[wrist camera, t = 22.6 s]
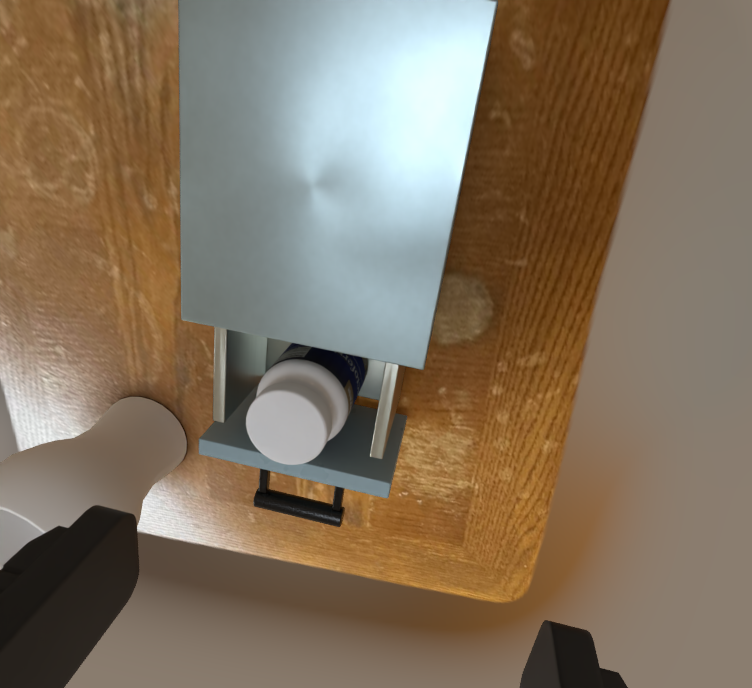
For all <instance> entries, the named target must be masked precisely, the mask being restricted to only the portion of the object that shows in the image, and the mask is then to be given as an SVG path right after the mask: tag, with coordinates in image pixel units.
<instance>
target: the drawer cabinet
mask: <svg viewBox="0 0 752 688" xmlns="http://www.w3.org/2000/svg"><path fill="white" fill-rule="evenodd" d="M178 5H179V113H180V221H181V319H182V320H185V321H190V322H195V323H199V324H204V325H209V326H214V327H219V328H223V329H228V330H233V331H238V332H243V333H247V334H252V335H257V336H262V337H267V338H272V339H276V340H281V341H286V342H291V343H296V344H300V345H305V346H310V347H315V348H320V349H324V350H329V351H334V352H339V353H344V354H349V355H353V356H358V357H363V358H368V359H373V360H377V361H382V362H387V363H392V364H397V365H401V366H406V367H411V368H416V369H421V370H424V367H425V363H426V358H427V354H428V349H429V344H430V340H431V335H432V330H433V326H434V321H435V316H436V312H437V307H438V302H439V297H440V292H441V287H442V282H443V278H444V273H445V268H446V263H447V258H448V253H449V248H450V243H451V238H452V233H453V228H454V223H455V218H456V213H457V208H458V203H459V199H460V194H461V189H462V184H463V179H464V174H465V169H466V164H467V159H468V154H469V149H470V144H471V139H472V134H473V129H474V125H475V120H476V115H477V110H478V105H479V100H480V95H481V90H482V85H483V80H484V75H485V70H486V65H487V60H488V55H489V51H490V46H491V40H492V35H493V29H494V23H495V18H496V12H497V6H498V1H497V0H178Z"/></svg>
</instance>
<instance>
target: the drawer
mask: <svg viewBox="0 0 752 688" xmlns="http://www.w3.org/2000/svg"><path fill="white" fill-rule="evenodd" d="M291 344H292V343H291V342H286V341H281V340H276V339H272V338H267V337H262V336H257V335H252V334H247V333H243V332H238V331H233V330H228V329H223V328H219V327H215V334H214V388H213V421H215V422H214V423H213V424H212V425H211V426H210V427H209V428H208V430H207V431H206V432H205V433H204V434H203V435H202V436H201V437H200V438H199V454H202V455H206V456H210V457H214V458H219V459H223V460H227V461H231V462H236V463H240V464H244V465H248V466H252V467H257V468H260V479H259V488H258V489H257V491H256V494H255V497H254V506H255V507H259V508H263V509H267V510H271V511H275V512H280V513H284V514H288V515H292V516H296V517H300V518H304V519H308V520H312V521H316V522H320V523H325V524H329V525H333V526H337V527H340V526H341V524H342V521H343V517H344V512H345V508H344V507H342V502H343V495H344V488H346V489H350V490H354V491H358V492H363V493H367V494H371V495H375V496H379V497H384V498H388V497H389V493H390V489H391V485H392V480H393V476H394V472H395V468H396V464H397V459H398V455H399V451H400V447H401V443H402V438H403V434H404V430H405V425H406V420H407V416H406V415H402V414H397V413H396V410H397V406H398V403H399V399H400V394H401V388H402V383H403V378H404V372H405V367H406V366H401V365H397V364H392V363H387V362H382V361H377V360H373V359H368V371H367V375H366V378H365V380H364V383H363V385H362V387H361V389H360V391H359V394H358V396H362V397H367V398H371V399H376V400H379V404H378V409H374V408H369V407H365V406H360V405H356V404H354V405H353V407H352V409H351V411H350V413H349V416H348V418H347V420H346V422H345V424H344V426H343V427H342V429H341V430H340V431H339V433H338V434H337V435H336V436H335V437H333V438H332V439H330V440H329V441H327V443H326V445H325V446H324V448H323V450H322V451H321V452H320V454H319V455H318V456H317V457H315V458H314V459H313V460H311V461H309V462H306V463H303V464H298V465H287V464H282V463H278V462H275V461H273V460H271V459H269V458H268V457H266V456H265V455H263V454H262V453H261V452H260V451H259V450H258V449H257V448H256V447H255V446H254V444H253V443H252V441H251V439H250V437H249V435H248V432H247V428H246V416H247V412H248V410H249V407H250V405H251V404H252V402H253V401H254V400H255V398H256V395H257V389H258V385H259V382H260V381H261V379H262V377H263V376H264V374H265V373H266V372H267V370H268V369H269V368H270V367H271V366H272V365H273V364H274V363H275V362H276V360H277V359H278V358H279V357H280V356H281V355H282V354H283V353H284V351H285V350H286V349H287V348H288V347H289V346H290V345H291ZM270 471H274V472H278V473H282V474H286V475H291V476H295V477H299V478H303V479H307V480H312V481H316V482H320V483H324V484H329V485H333V486H335V492H334V499H333V504H329V503H325V502H321V501H316V500H312V499H308V498H304V497H300V496H296V495H291V494H287V493H283V492H279V491H275V490H271V489H269V481H270Z"/></svg>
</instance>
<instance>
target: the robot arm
mask: <svg viewBox="0 0 752 688" xmlns="http://www.w3.org/2000/svg"><path fill="white" fill-rule="evenodd" d="M138 557H139V556H138V538H137V521H136V517H135V516H134V515H133V514H131V513H127V512H123V511H120V510H116V509H112V508H108V507H104V506H100V505H95V506H92V507H90V508H89V509H88V510H86V511H85V512H84V513H83V514H82V515H81V516H80V517H79V518H78V519H77V520H76V521H75V522H74V523H73V524H72V525H71V526H70V527H69V528H66V527H63V526H57V527H55V528H53V529H52V530H50V531H48V532H46V533H44V534H42V535H41V536H39V537H37V538H35V539H33V540H31V541H30V542H28V543H27V544H26V545H25V546H24V547H22V548H21V549H20V550H19V551H18V552H17V553H16V554H15V555H14V556H13V557H12V558H10V559H9V560H8V561H7V562H6V563H5V564H4V565H3V568H2V569H1V570H0V688H64V687H65V686H66V684H67V683H68V682H69V680H70V679H71V678H72V676H73V675H74V674H75V672H76V671H77V670H78V668H79V667H80V665H81V664H82V663H83V661H84V660H85V659H86V657H87V656H88V655H89V653H90V652H91V651H92V649H93V648H94V646H95V645H96V644H97V642H98V641H99V640H100V638H101V637H102V635H103V634H104V633H105V632H106V630H107V629H108V628H109V626H110V625H111V623H112V622H113V621H114V619H115V618H116V617H117V615H118V614H119V613H120V611H121V610H122V609H123V607H124V606H125V605H126V603H127V602H128V600H129V598H130V597H131V595H132V593H133V590H134V588H135V586H136V583H137V579H138V575H139V558H138ZM520 688H628V687H627V686H626V684H625V683H624V681H623V679H622V678H621V676H620V675H619V673H617V672H613V671H610V670H606V669H602V668H600V667H599V663H598V659H597V654H596V650H595V646H594V642H593V638H592V636H591V634H590V632H588V631H587V630H583V629H579V628H575V627H571V626H567V625H563V624H560V623H555V622H552V621H547V620H545V621H544V622H543V624H542V625H541V628H540V630H539V633H538V635H537V638H536V640H535V643H534V646H533V648H532V651H531V653H530V656H529V658H528V661H527V663H526V666H525V668H524V671H523V674H522V678H521V683H520Z"/></svg>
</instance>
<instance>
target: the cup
mask: <svg viewBox="0 0 752 688" xmlns="http://www.w3.org/2000/svg"><path fill="white" fill-rule="evenodd" d="M186 450H187V441H186V436H185V432H184V430H183V428H182V426H181V424H180V422H179V421H178V420H177V419H176V418H175V416H174V415H173V414H172V413H171V412H170V411H169V410H167V409H166V408H165V407H164V406H162V405H161V404H159V403H157V402H155V401H153V400H150V399H146V398H143V397H127V398H124V399H120V400H119V401H117V402H116V403H114V404H113V405H112V406H111V407H110V408H109V409H108V410H107V411H106V412H105V413H104V414H103V415H102V417H101V418H100V419H99V420H98V421H97V422H96V424H95V425H94V426H93V427H92V428H91V429H90V430H88V431H86V432H84V433H83V434H81V435H79V436H77V437H75V438H72V439H64V440H57V441H52V442H48V443H44V444H41V445H38V446H35V447H32V448H30V449H27V450H24V451H21V452H18V453H15V454H13V455H11V456H10V457H8V458H7V459H5V460H4V461H2V462H1V463H0V570H1V569H2V568H3V565H4V564H5V563H6V562H7V561H8V560H9V559H10V558H12V557H13V556H14V555H15V554H16V553H17V552H18V551H19V550H20V549H21V548H22V547H24V546H25V545H26V544H27V543H28V542H30V541H31V540H33V539H35V538H37V537H39V536H41V535H42V534H44V533H46V532H48V531H50V530H52V529H53V528H55V527H57V526H63V527H66V528H69V527H70V526H71V525H72V524H73V523H74V522H75V521H76V520H77V519H78V518H79V517H80V516H81V515H82V514H83V513H84V512H85V511H86V510H88V509H89V508H90V507H92V506H95V505H100V506H104V507H108V508H112V509H116V510H120V511H123V512H127V513H131V514H133V515H134V516H135V517H136V521H137V525H138V522H139V520H140V515H141V509H142V503H143V500H144V498H145V496H146V495H147V493H148V492H149V490H150V489H151V487H152V486H153V485H154V484H155V483H157V482H158V481H159V480H161V479H162V478H163V477H165V476H166V475H167V474H169V473H170V472H171V471H172V470H173V469H175V468H176V467H177V466H178V465H179V464H180V463H181V462H182V460H183V459H184V456H185V454H186Z"/></svg>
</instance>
